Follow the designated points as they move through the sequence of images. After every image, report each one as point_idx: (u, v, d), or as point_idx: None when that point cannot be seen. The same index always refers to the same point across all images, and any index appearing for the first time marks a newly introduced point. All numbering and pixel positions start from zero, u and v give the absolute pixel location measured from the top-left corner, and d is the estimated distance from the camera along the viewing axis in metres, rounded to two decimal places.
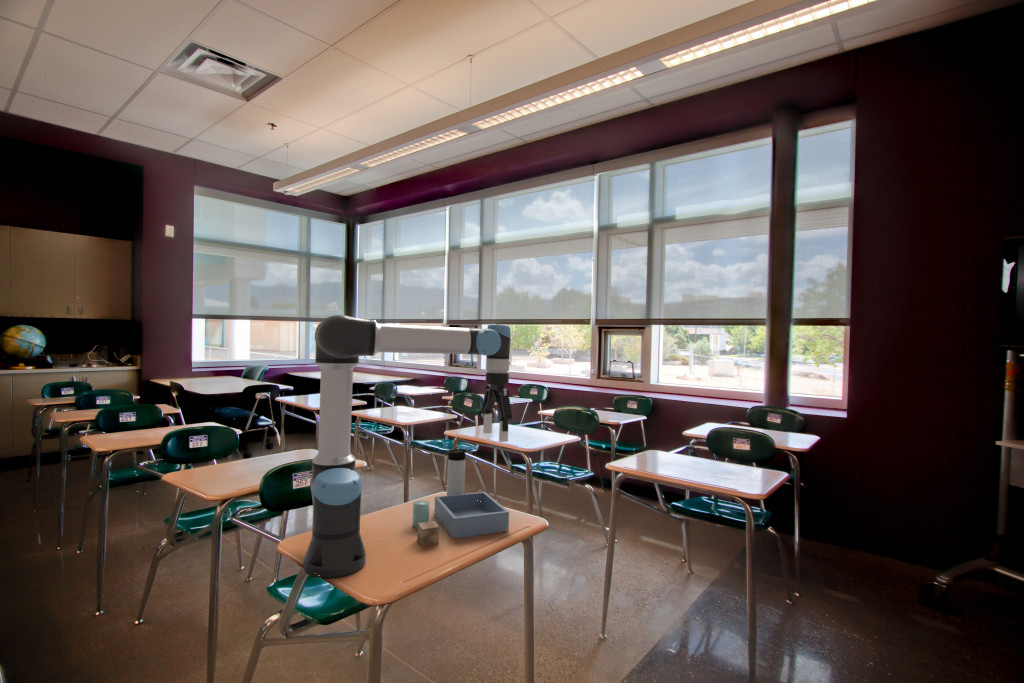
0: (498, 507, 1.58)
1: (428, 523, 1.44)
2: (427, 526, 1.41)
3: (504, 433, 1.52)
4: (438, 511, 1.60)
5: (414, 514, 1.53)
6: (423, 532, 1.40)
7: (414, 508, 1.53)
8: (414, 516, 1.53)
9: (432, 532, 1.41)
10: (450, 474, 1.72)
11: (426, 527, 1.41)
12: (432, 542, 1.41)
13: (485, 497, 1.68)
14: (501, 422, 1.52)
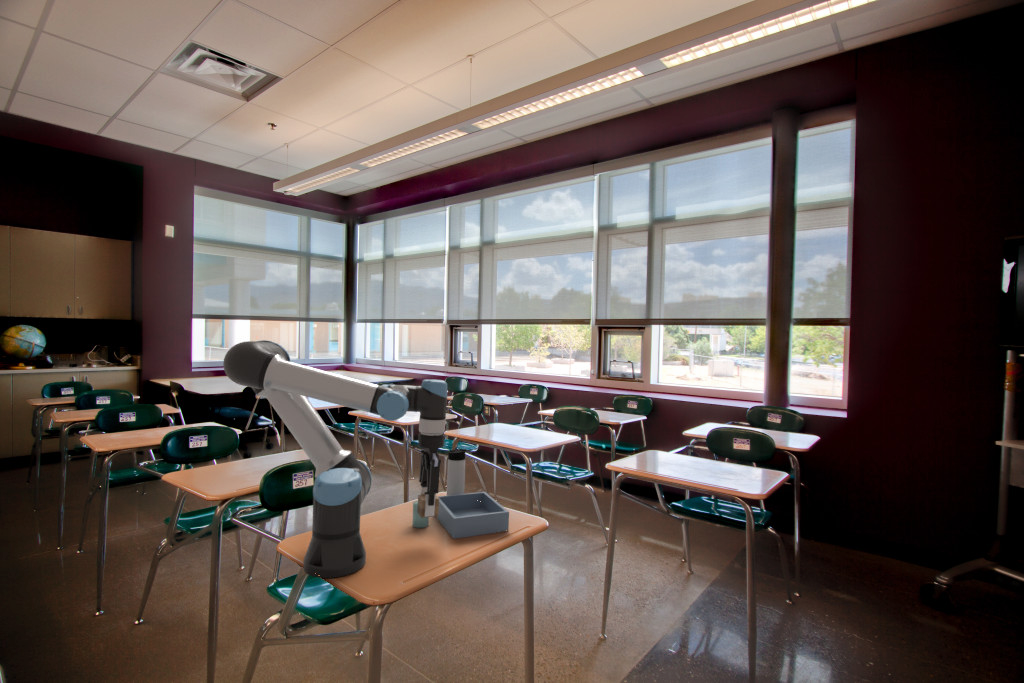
0: (498, 507, 1.58)
1: None
2: None
3: (430, 507, 1.40)
4: None
5: (414, 514, 1.53)
6: (423, 503, 1.40)
7: (414, 508, 1.53)
8: (414, 516, 1.53)
9: None
10: (450, 474, 1.72)
11: None
12: None
13: (485, 497, 1.68)
14: (427, 495, 1.39)
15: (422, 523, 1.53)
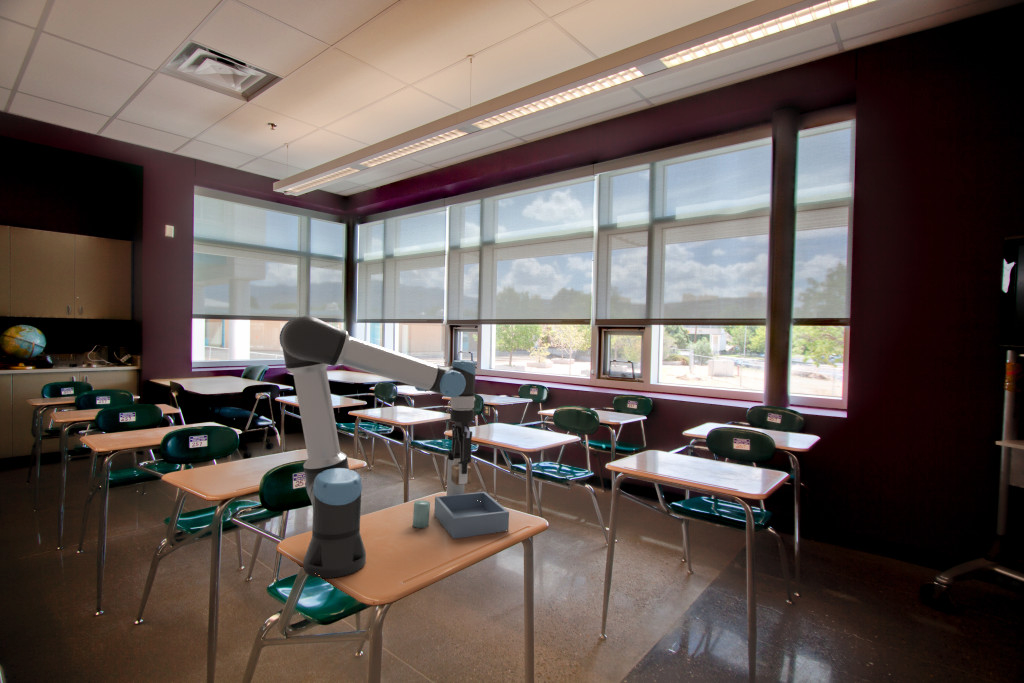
0: (498, 507, 1.58)
1: None
2: None
3: (463, 475, 1.54)
4: (438, 511, 1.60)
5: (415, 514, 1.53)
6: (457, 472, 1.54)
7: (415, 508, 1.53)
8: (415, 516, 1.53)
9: None
10: (450, 474, 1.72)
11: None
12: None
13: (485, 497, 1.68)
14: (460, 464, 1.53)
15: (422, 524, 1.53)
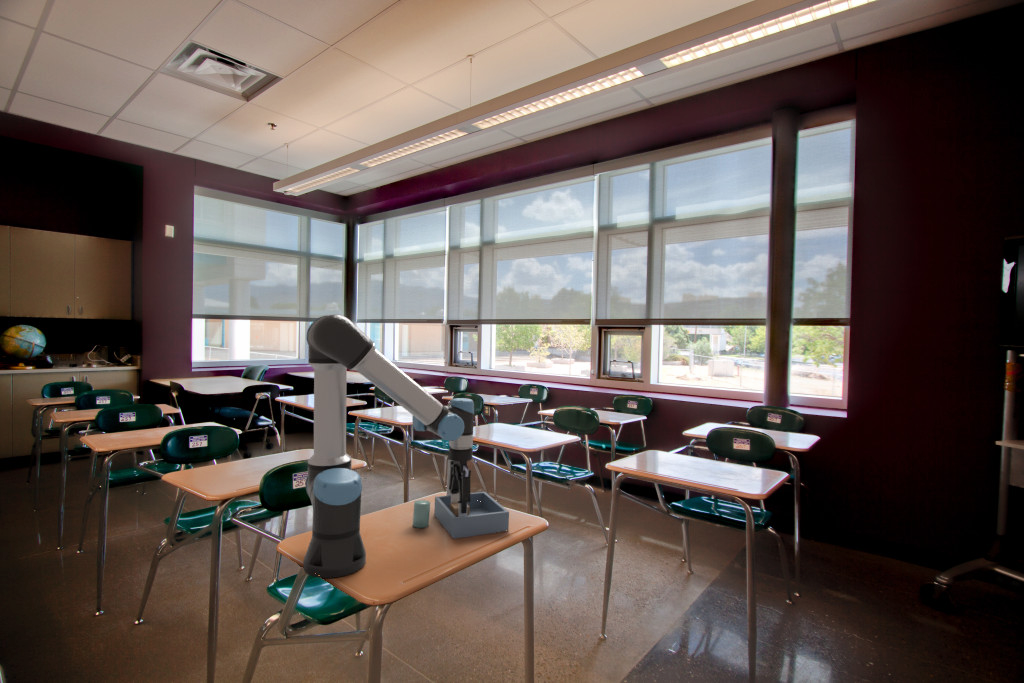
0: (498, 507, 1.58)
1: None
2: None
3: (463, 514, 1.53)
4: (438, 511, 1.60)
5: (415, 514, 1.53)
6: (455, 511, 1.54)
7: (416, 508, 1.53)
8: (415, 516, 1.53)
9: None
10: None
11: None
12: None
13: (485, 497, 1.68)
14: (460, 504, 1.52)
15: (423, 523, 1.53)
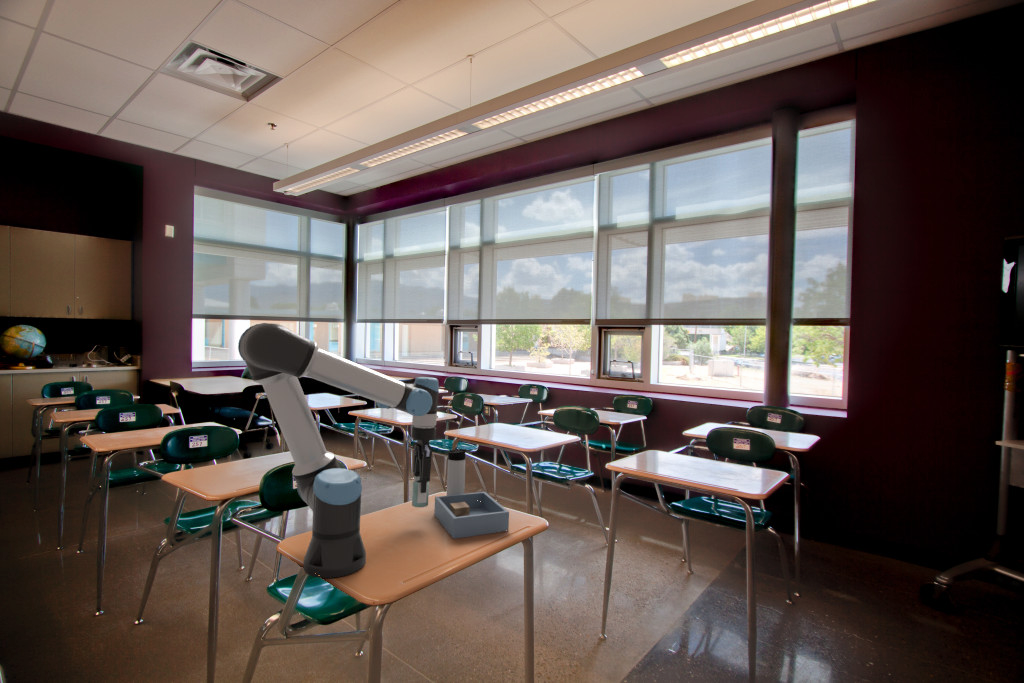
0: (498, 507, 1.58)
1: (459, 503, 1.58)
2: (459, 506, 1.56)
3: (422, 494, 1.52)
4: (438, 511, 1.60)
5: (416, 494, 1.52)
6: (455, 511, 1.54)
7: (416, 488, 1.52)
8: (416, 496, 1.52)
9: (464, 511, 1.55)
10: (450, 474, 1.72)
11: (458, 507, 1.55)
12: None
13: (485, 497, 1.68)
14: (419, 483, 1.51)
15: (424, 503, 1.53)
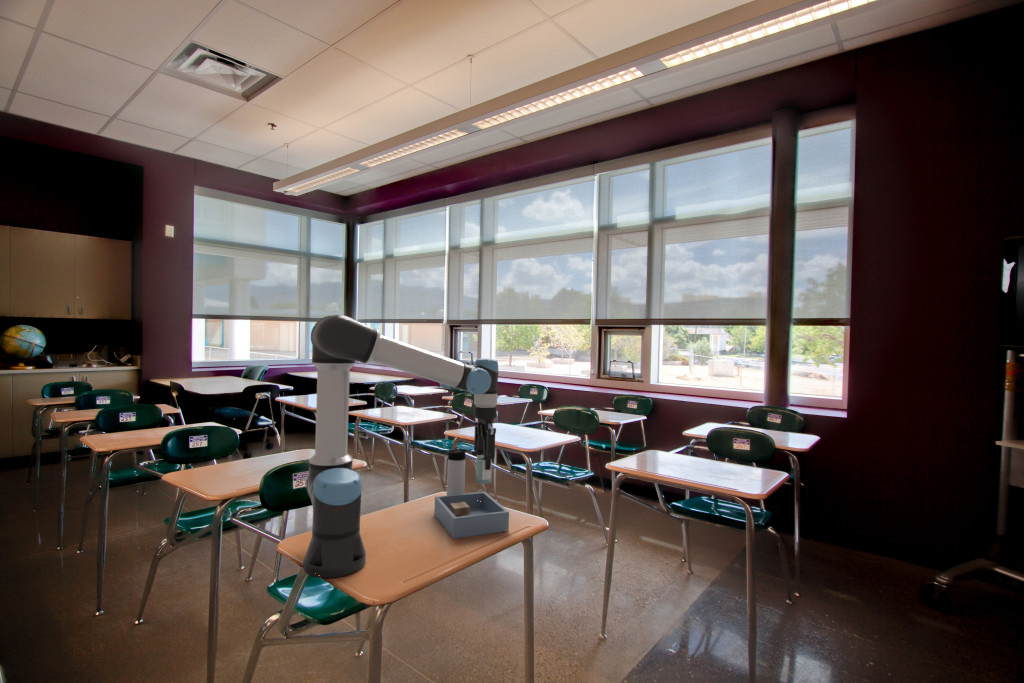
0: (498, 507, 1.58)
1: (459, 503, 1.58)
2: (459, 506, 1.56)
3: (487, 471, 1.57)
4: (438, 511, 1.60)
5: (480, 471, 1.58)
6: (455, 511, 1.54)
7: (480, 465, 1.58)
8: (480, 473, 1.58)
9: (464, 511, 1.55)
10: (450, 474, 1.72)
11: (458, 507, 1.55)
12: None
13: (485, 497, 1.68)
14: (484, 461, 1.57)
15: (488, 479, 1.58)
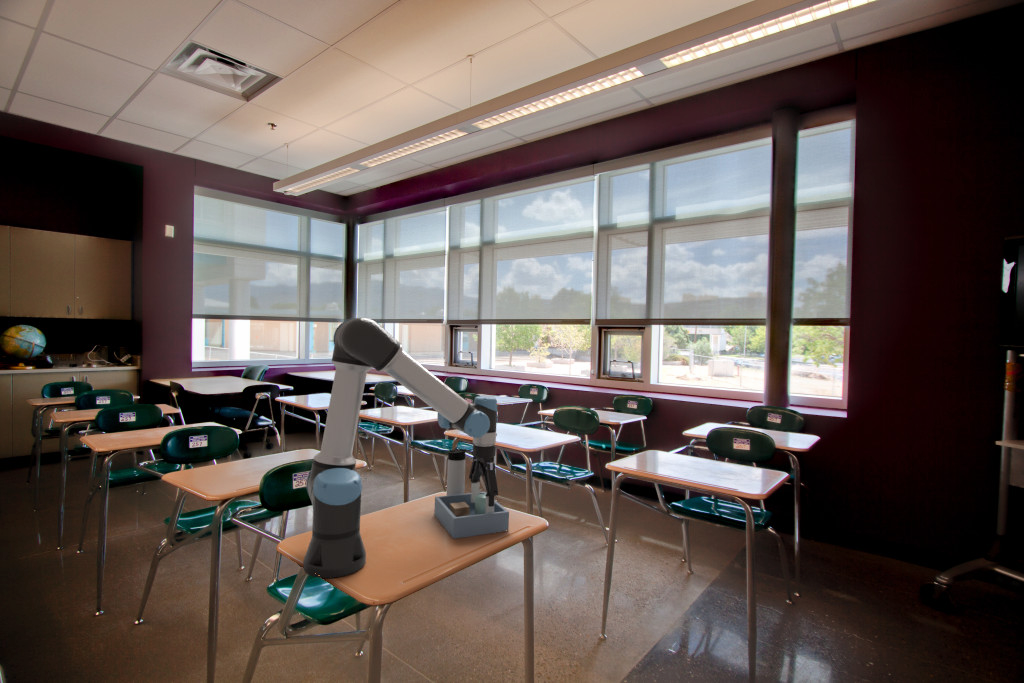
0: (498, 507, 1.58)
1: (459, 503, 1.58)
2: (459, 506, 1.56)
3: (490, 508, 1.54)
4: (438, 511, 1.60)
5: (479, 508, 1.58)
6: (455, 511, 1.54)
7: (479, 502, 1.58)
8: (479, 510, 1.58)
9: (464, 511, 1.55)
10: (450, 474, 1.72)
11: (458, 507, 1.55)
12: None
13: None
14: (487, 497, 1.53)
15: None
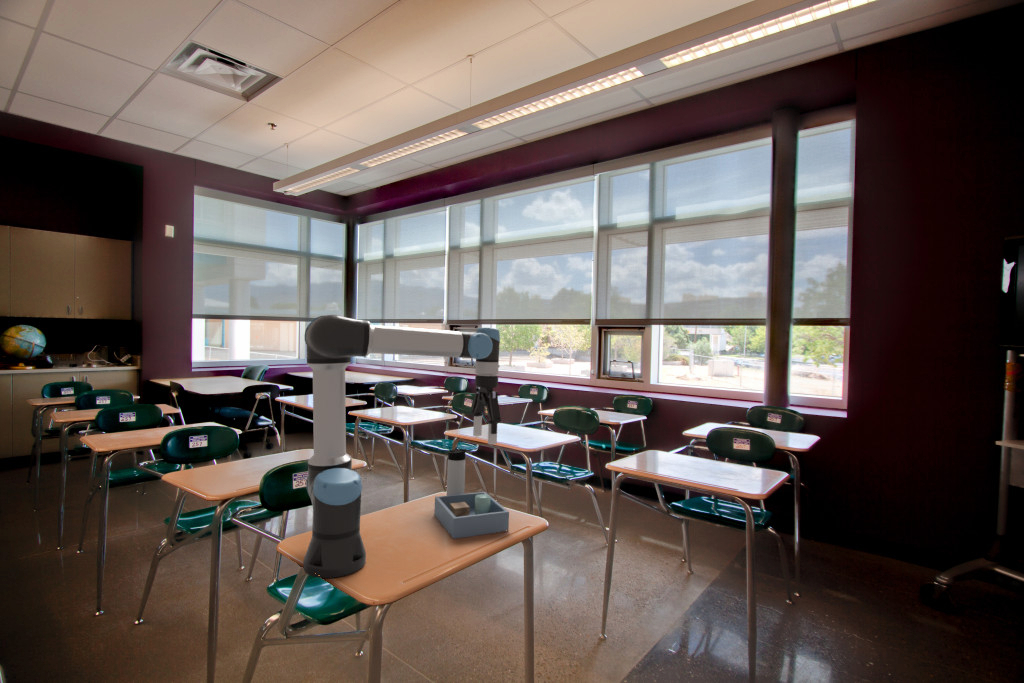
0: (498, 507, 1.58)
1: (459, 503, 1.58)
2: (459, 506, 1.56)
3: (493, 436, 1.54)
4: (438, 511, 1.60)
5: (479, 508, 1.58)
6: (455, 511, 1.54)
7: (479, 502, 1.58)
8: (479, 510, 1.58)
9: (464, 511, 1.55)
10: (450, 474, 1.72)
11: (458, 507, 1.55)
12: None
13: None
14: (490, 425, 1.53)
15: None
